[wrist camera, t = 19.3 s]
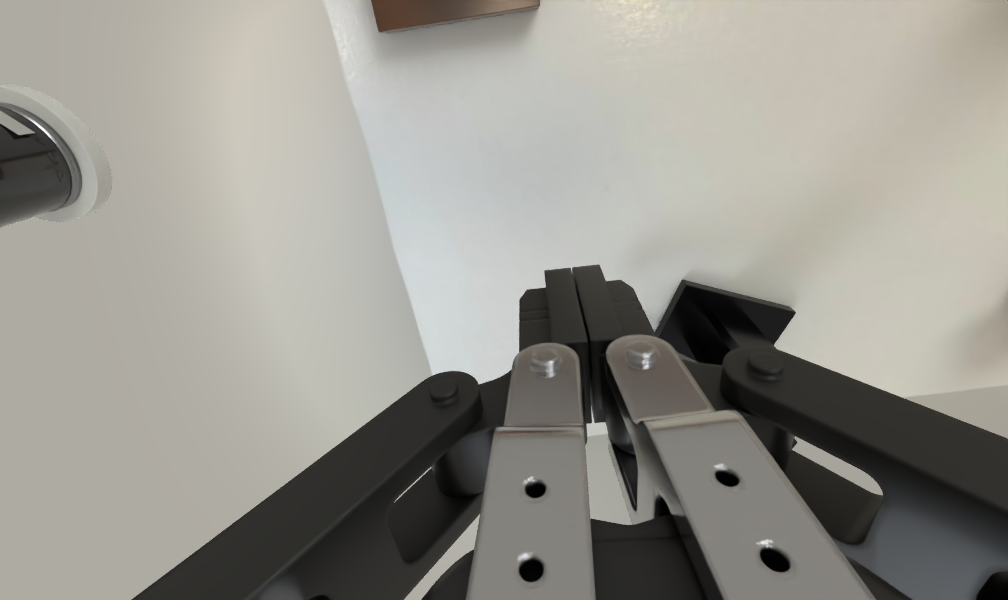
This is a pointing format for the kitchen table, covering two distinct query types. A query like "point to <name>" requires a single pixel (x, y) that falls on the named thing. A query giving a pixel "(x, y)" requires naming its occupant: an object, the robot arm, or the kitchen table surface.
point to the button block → (440, 12)
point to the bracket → (720, 323)
